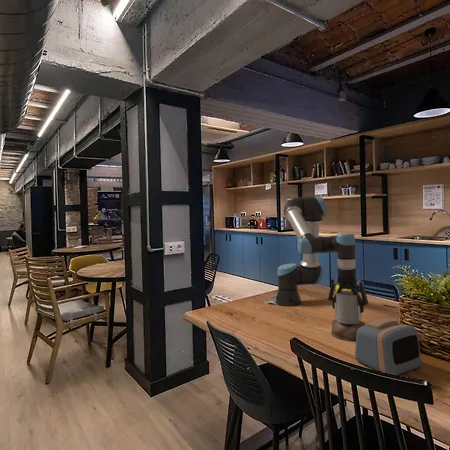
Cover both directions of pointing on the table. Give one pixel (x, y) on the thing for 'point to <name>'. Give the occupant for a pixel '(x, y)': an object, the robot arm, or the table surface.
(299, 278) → the robot arm
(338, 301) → the speckled grey cylinder
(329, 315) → the table surface
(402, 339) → the alarm clock
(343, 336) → the plinth
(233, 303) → the table surface
